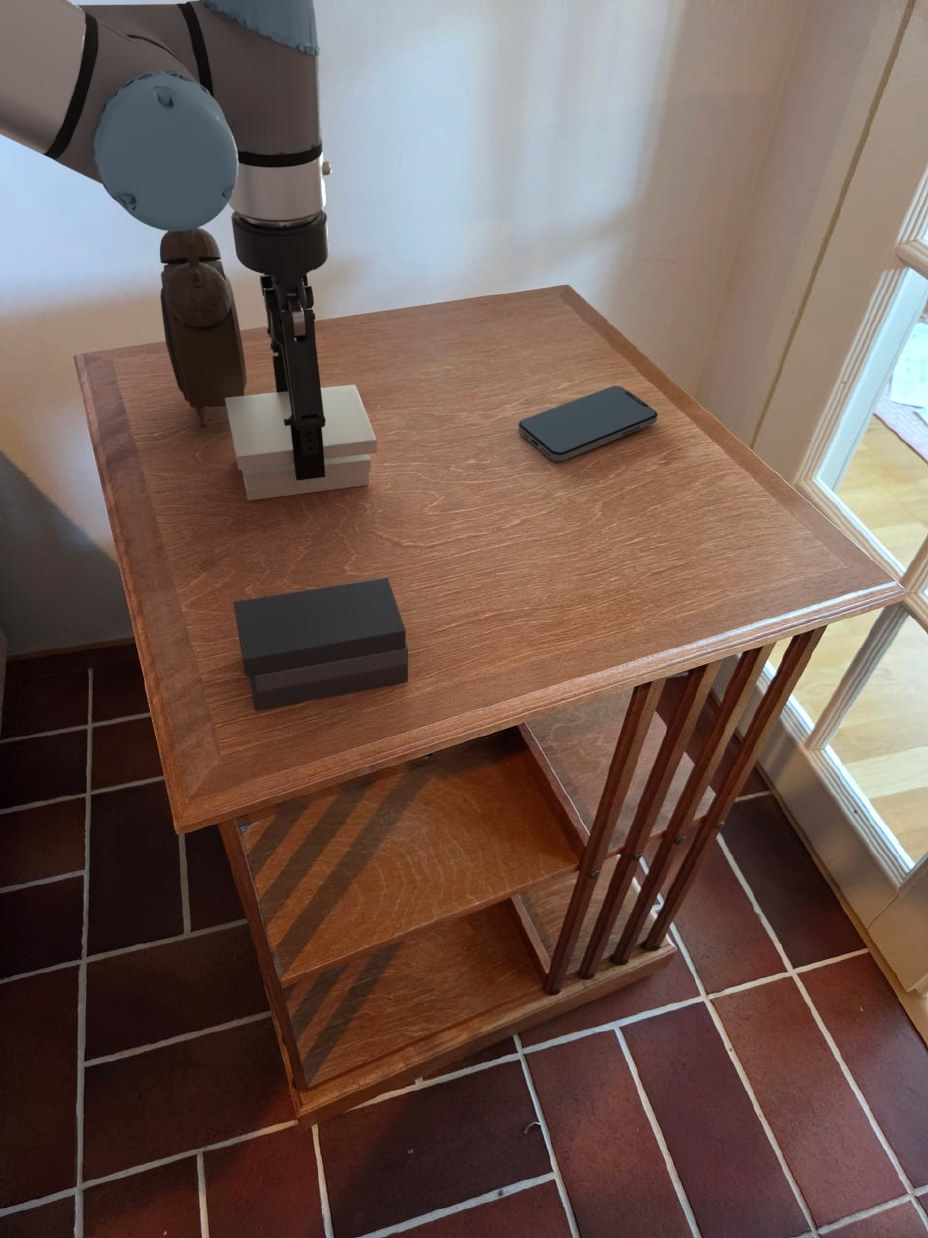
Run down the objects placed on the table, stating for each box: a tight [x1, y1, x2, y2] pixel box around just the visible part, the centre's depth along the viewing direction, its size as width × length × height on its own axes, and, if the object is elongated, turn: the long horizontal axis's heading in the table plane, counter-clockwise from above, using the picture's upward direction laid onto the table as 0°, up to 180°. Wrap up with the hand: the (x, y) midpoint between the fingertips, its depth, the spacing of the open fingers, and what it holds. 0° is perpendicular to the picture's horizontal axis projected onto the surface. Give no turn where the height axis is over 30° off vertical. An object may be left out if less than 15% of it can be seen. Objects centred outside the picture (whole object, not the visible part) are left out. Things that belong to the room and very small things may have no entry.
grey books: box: [233, 576, 409, 712], centre depth 65 cm, size 12×6×6 cm, turn 107°
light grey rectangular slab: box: [225, 384, 378, 471], centre depth 80 cm, size 13×10×2 cm
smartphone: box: [517, 385, 659, 462], centre depth 92 cm, size 8×2×15 cm
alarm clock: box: [159, 227, 248, 429], centre depth 84 cm, size 14×7×20 cm, turn 17°
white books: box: [241, 454, 372, 501], centre depth 83 cm, size 12×8×3 cm, turn 107°
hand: (301, 444), depth 82 cm, fingers closed on light grey rectangular slab, 10 cm apart
